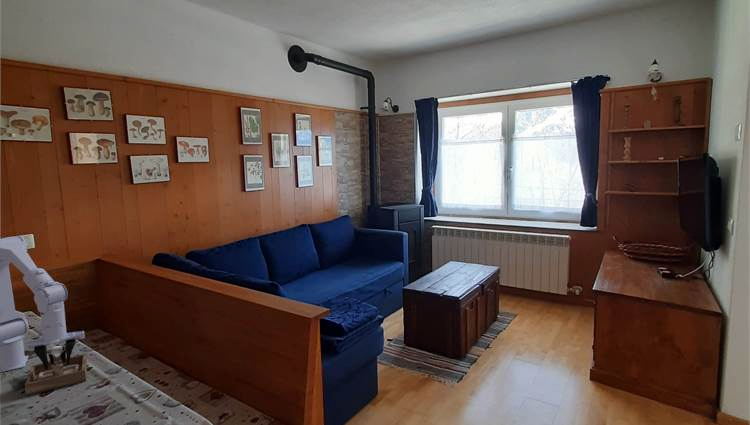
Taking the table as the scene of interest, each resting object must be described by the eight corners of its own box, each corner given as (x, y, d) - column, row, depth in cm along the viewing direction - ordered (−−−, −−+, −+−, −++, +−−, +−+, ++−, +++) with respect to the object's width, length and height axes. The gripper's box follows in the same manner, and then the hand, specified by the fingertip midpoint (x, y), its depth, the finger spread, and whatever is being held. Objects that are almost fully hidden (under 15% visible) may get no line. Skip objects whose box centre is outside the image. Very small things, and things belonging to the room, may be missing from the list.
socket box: (32, 376, 124) (31, 365, 124) (87, 363, 132) (86, 353, 132) (25, 396, 113) (24, 384, 112) (85, 381, 121) (85, 370, 120)
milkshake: (59, 379, 121) (56, 348, 120) (46, 377, 122) (43, 346, 121) (74, 372, 125) (71, 342, 124) (61, 370, 126) (58, 340, 125)
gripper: (20, 333, 113) (24, 378, 115) (82, 322, 122) (86, 363, 123) (24, 326, 119) (28, 368, 120) (83, 315, 127) (86, 355, 129)
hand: (57, 365), depth 122 cm, fingers open, 5 cm apart
